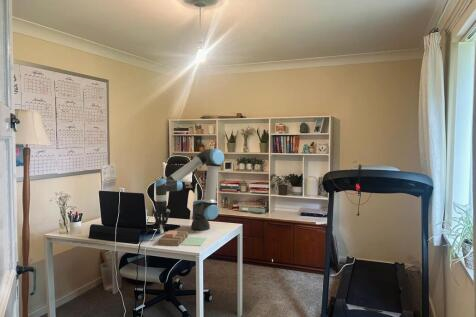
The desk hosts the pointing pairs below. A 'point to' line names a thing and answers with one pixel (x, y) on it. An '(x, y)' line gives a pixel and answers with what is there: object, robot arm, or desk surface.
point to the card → (170, 233)
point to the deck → (174, 239)
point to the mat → (194, 241)
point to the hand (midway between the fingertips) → (161, 233)
